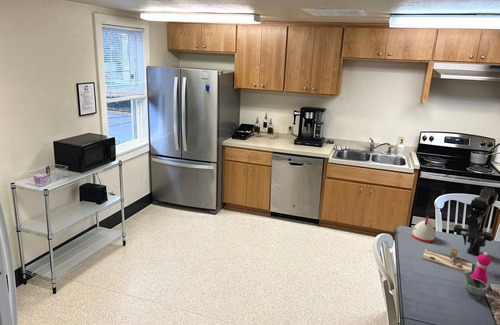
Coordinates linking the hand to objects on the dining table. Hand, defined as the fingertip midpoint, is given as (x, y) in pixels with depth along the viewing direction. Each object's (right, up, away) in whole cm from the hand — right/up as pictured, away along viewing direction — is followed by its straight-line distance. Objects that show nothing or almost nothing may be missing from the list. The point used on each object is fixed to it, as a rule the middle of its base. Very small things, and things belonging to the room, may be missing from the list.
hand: (469, 246), depth 206 cm
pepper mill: (-6, -17, -17) cm, 25 cm away
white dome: (-10, -2, +34) cm, 36 cm away
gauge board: (-10, -10, +6) cm, 15 cm away
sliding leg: (-7, -9, +5) cm, 12 cm away
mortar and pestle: (-13, -19, -24) cm, 33 cm away
